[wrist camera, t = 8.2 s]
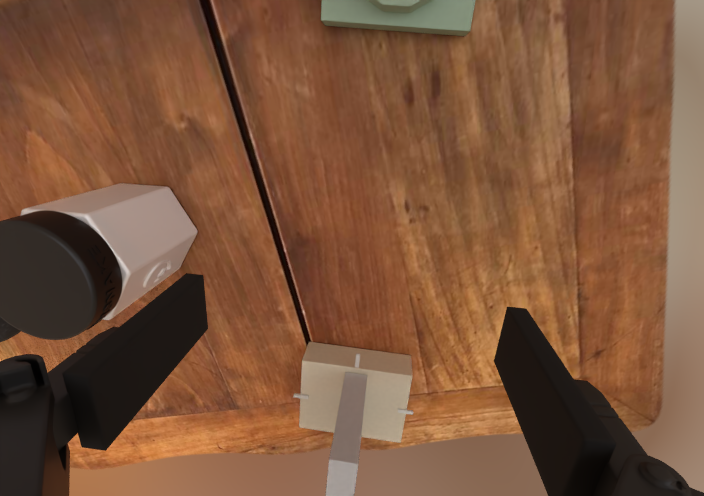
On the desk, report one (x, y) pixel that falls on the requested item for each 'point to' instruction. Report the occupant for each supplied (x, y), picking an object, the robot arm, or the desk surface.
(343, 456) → the tap handle
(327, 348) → the panel
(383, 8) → the button block
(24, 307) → the jar
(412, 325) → the desk surface
